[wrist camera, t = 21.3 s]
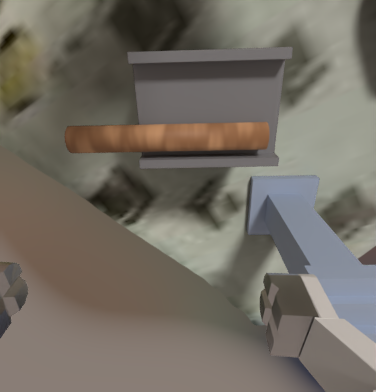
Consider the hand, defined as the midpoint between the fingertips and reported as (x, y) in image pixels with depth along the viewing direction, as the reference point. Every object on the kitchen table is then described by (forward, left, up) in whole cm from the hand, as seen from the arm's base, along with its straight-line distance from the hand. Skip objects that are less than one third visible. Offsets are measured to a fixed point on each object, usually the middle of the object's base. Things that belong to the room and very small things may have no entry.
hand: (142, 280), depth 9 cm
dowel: (0, -1, -23) cm, 23 cm away
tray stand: (-1, +4, -40) cm, 40 cm away
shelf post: (+23, +11, -40) cm, 47 cm away
